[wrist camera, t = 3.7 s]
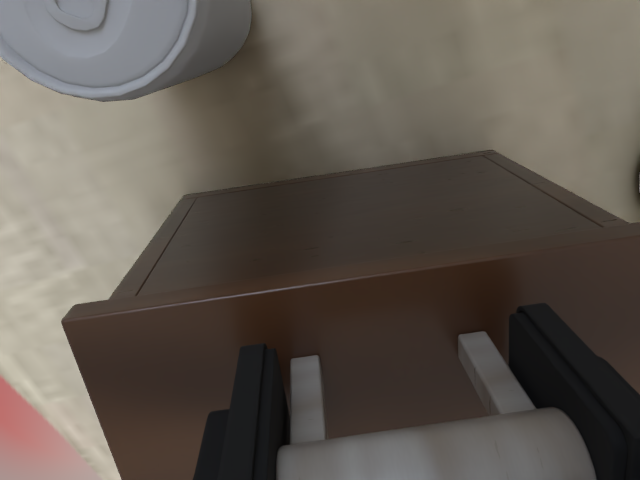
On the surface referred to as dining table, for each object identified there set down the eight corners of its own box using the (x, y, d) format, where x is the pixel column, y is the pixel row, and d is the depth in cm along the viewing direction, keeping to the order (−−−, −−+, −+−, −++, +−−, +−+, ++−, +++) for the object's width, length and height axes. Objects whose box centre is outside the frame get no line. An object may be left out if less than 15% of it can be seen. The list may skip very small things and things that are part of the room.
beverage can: (266, -30, 20) (234, -121, 9) (236, 89, 22) (176, 136, 11) (146, -75, 19) (-51, -234, 8) (124, 52, 21) (-68, 61, 10)
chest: (183, 195, 23) (86, 328, 12) (493, 149, 23) (670, 243, 12) (246, 450, 29) (218, 695, 18) (495, 414, 29) (617, 639, 18)
